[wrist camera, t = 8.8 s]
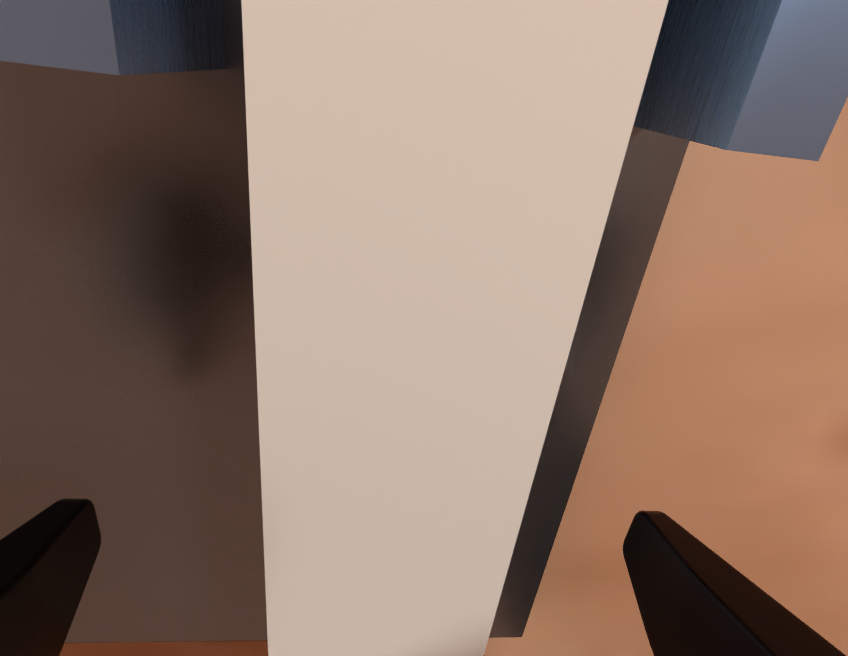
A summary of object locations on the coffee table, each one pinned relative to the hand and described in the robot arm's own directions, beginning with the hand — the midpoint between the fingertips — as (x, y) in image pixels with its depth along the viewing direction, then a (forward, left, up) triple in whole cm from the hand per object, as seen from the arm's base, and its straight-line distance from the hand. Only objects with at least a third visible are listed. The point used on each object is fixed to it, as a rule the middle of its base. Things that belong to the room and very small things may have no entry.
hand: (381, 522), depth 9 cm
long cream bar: (+4, 0, -2) cm, 5 cm away
